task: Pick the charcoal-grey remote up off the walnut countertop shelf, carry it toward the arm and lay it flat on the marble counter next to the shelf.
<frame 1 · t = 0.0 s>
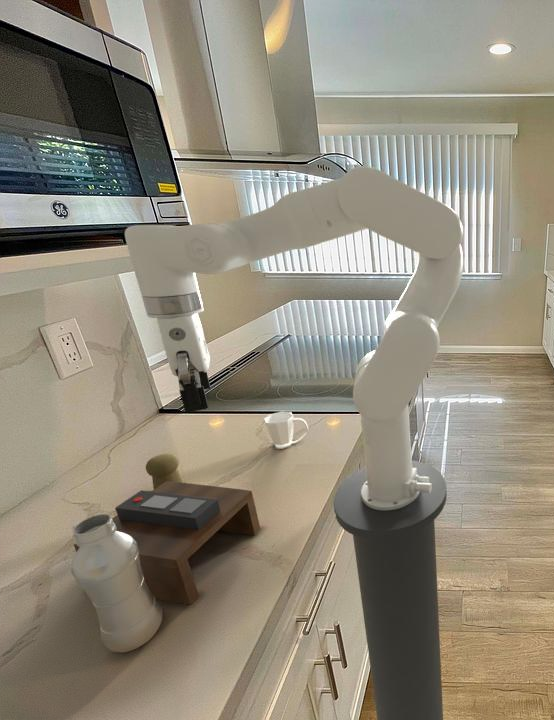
hand: (198, 399, 70), 26 cm above the worktop, tool pointing down, fingers open, 9 cm apart
cup: (290, 444, 105), on the worktop
cork: (174, 503, 83), on the worktop
shelf: (184, 556, 69), on the worktop
remote: (170, 515, 66), point 9 cm above the worktop, touching shelf
plastic bottle: (138, 637, 56), on the worktop
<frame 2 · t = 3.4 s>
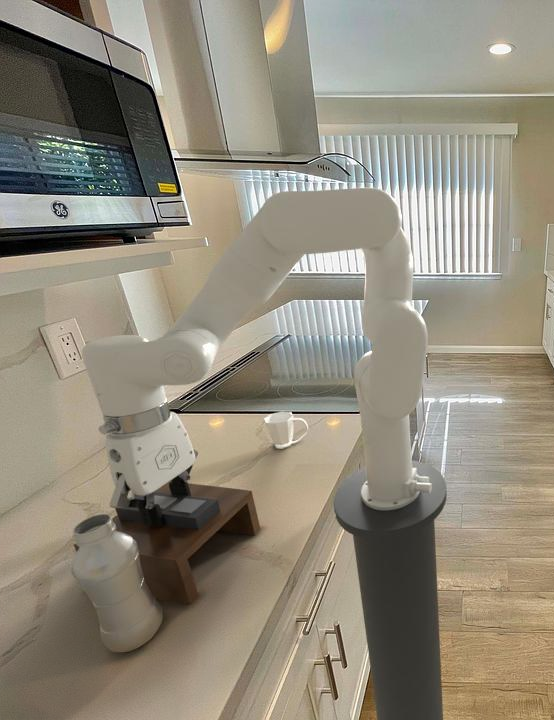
hand: (169, 512, 66), 10 cm above the worktop, tool pointing down, fingers closed on remote, 4 cm apart
remote: (170, 515, 66), point 9 cm above the worktop, touching gripper, shelf
everything else where it was.
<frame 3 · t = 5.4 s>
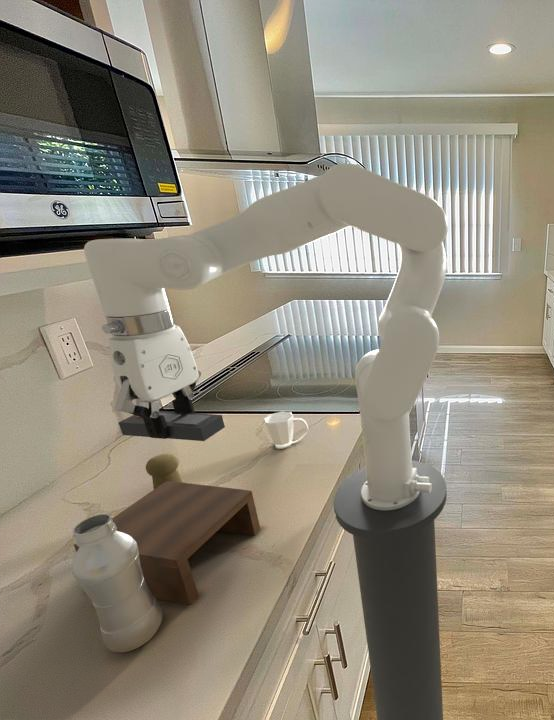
hand: (174, 428, 66), 23 cm above the worktop, tool pointing down, fingers closed on remote, 4 cm apart
remote: (174, 431, 66), point 22 cm above the worktop, touching gripper
everything else where it was.
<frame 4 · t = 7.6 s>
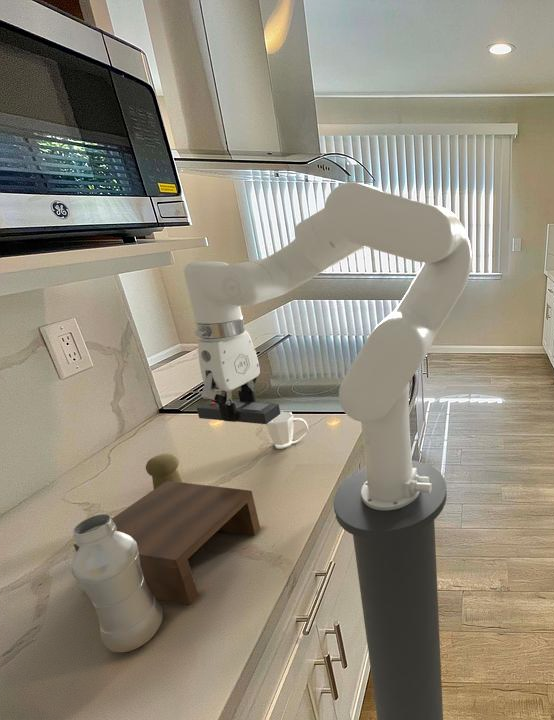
hand: (240, 413, 81), 18 cm above the worktop, tool pointing down, fingers closed on remote, 4 cm apart
remote: (240, 416, 81), point 18 cm above the worktop, touching gripper
everything else where it was.
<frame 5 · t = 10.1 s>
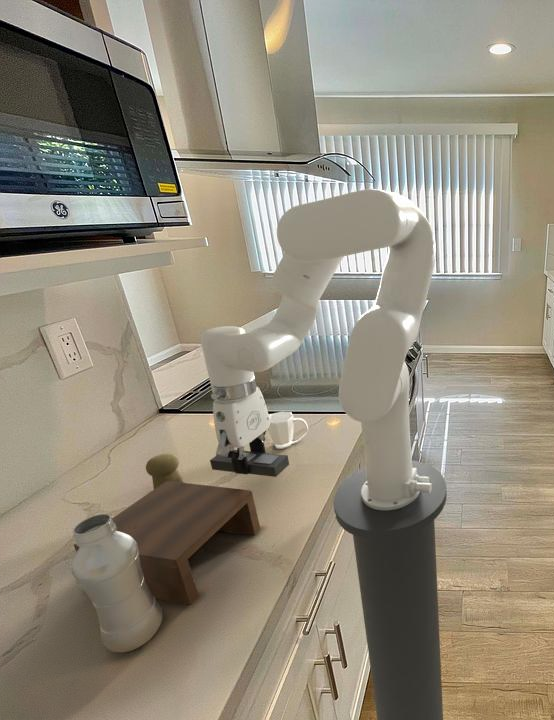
hand: (251, 464, 85), 6 cm above the worktop, tool pointing down, fingers closed on remote, 4 cm apart
remote: (251, 467, 85), point 5 cm above the worktop, touching gripper
everything else where it was.
when the fingers open (1 cm above the worktop, at t = 11.8 s): remote stays where it is, on the worktop.
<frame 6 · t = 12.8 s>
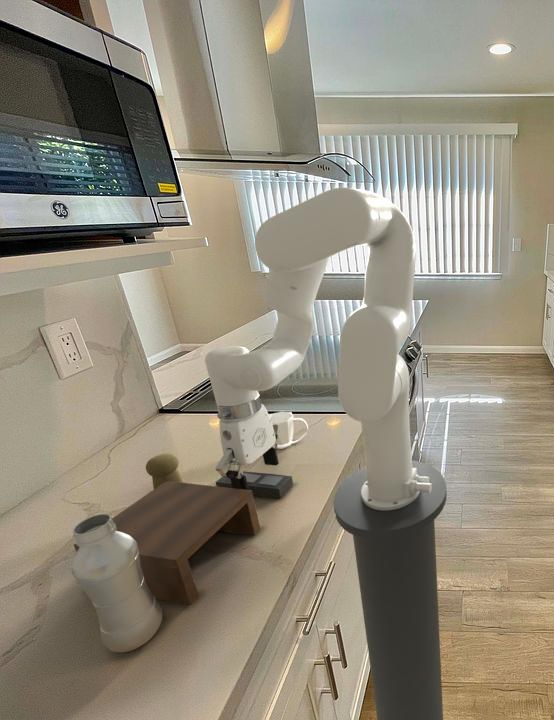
hand: (257, 477, 86), 3 cm above the worktop, tool pointing down, fingers open, 9 cm apart
remote: (256, 488, 87), on the worktop
everything else where it was.
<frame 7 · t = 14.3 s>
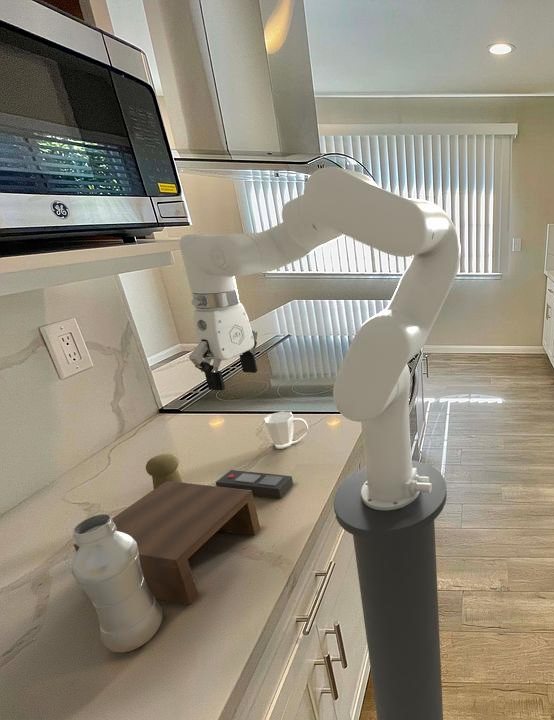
hand: (234, 380, 83), 24 cm above the worktop, tool pointing down, fingers open, 9 cm apart
nothing on the worktop moved.
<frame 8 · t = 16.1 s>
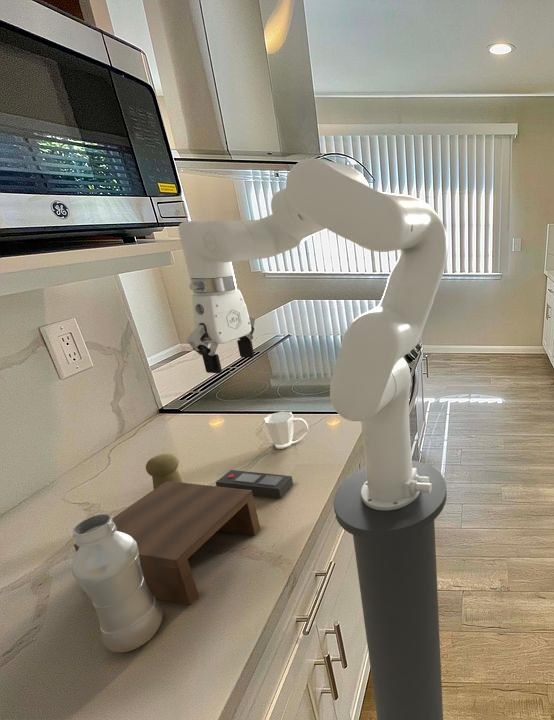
hand: (231, 364, 86), 26 cm above the worktop, tool pointing down, fingers open, 9 cm apart
nothing on the worktop moved.
at the end: remote inside the target area (0.3 cm from its centre), on the worktop; remote touching worktop; the gripper is holding nothing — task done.
